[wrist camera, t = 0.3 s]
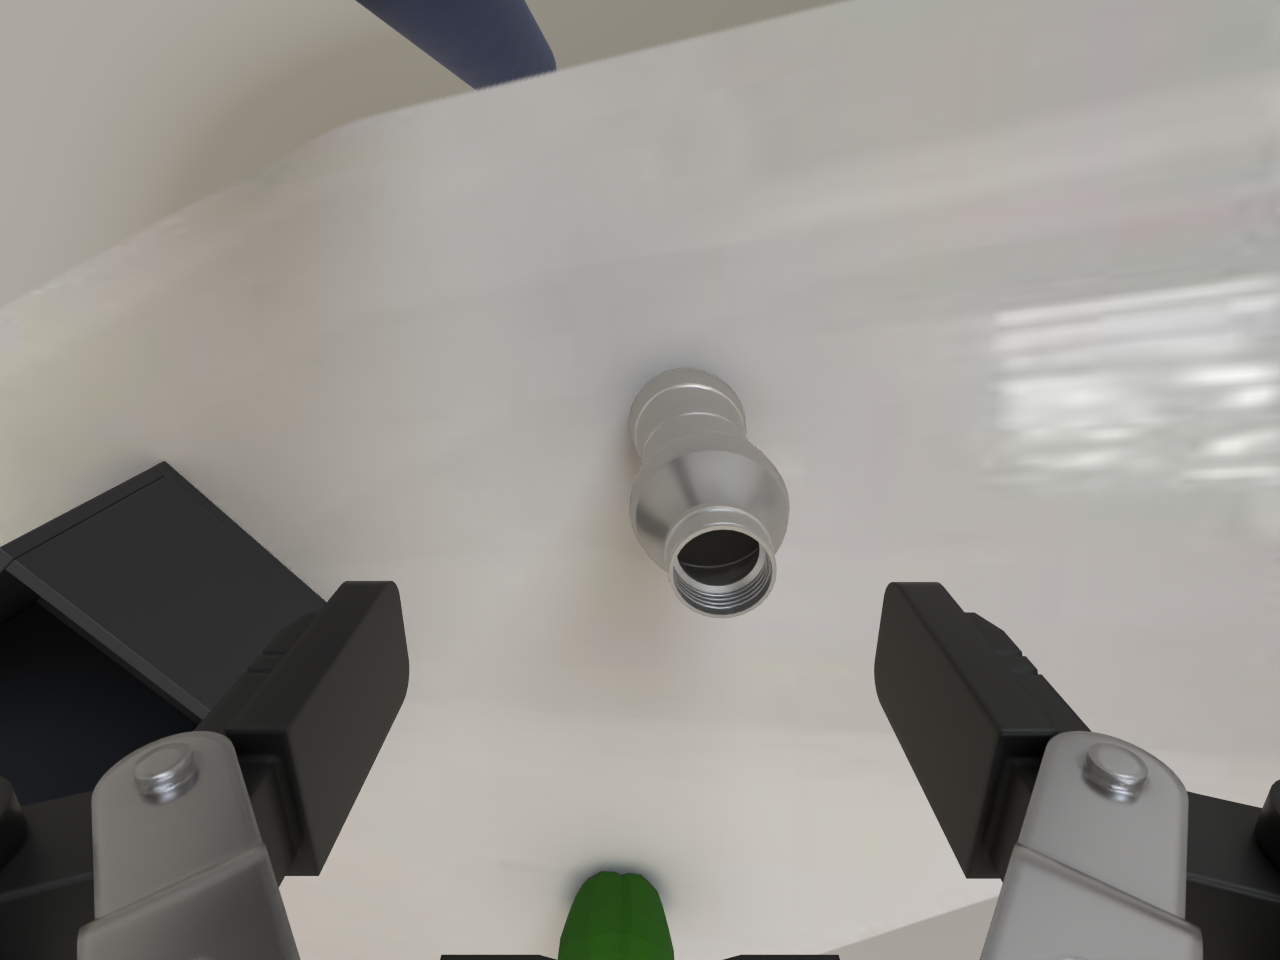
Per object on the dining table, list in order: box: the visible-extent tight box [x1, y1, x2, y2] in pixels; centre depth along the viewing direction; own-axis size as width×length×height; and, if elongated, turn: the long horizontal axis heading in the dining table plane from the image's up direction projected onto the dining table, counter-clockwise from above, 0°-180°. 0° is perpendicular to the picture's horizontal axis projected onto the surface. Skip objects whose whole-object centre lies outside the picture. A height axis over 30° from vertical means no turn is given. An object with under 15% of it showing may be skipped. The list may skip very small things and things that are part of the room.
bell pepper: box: [558, 872, 674, 960], centre depth 52 cm, size 8×8×10 cm
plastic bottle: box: [629, 368, 790, 618], centre depth 33 cm, size 6×7×20 cm
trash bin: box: [0, 461, 326, 807], centre depth 41 cm, size 15×15×12 cm
